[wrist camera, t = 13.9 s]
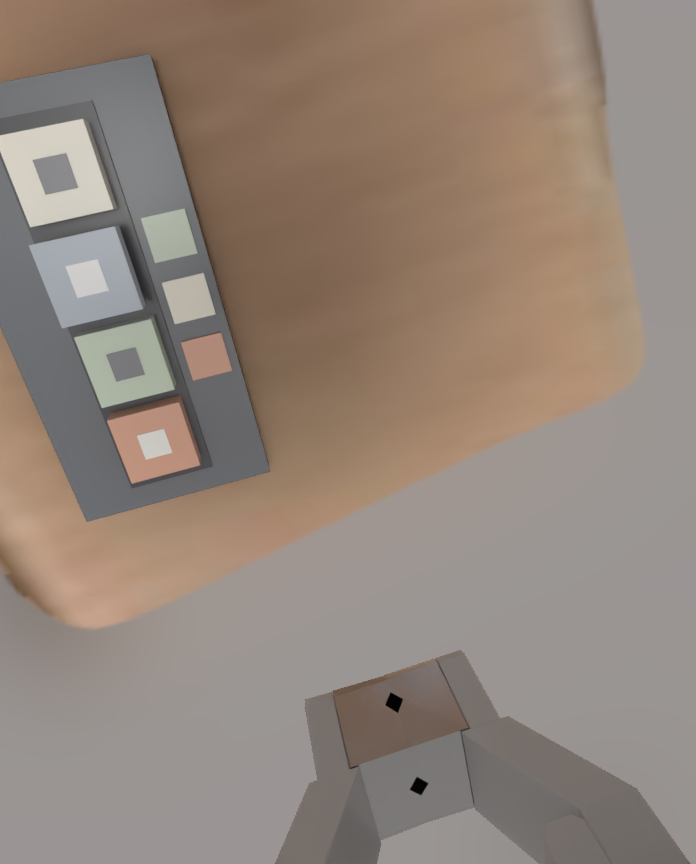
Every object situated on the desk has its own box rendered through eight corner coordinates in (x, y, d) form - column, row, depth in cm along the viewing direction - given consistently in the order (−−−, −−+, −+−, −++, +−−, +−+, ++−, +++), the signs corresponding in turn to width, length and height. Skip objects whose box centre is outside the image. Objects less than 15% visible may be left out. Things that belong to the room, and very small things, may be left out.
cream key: (3, 139, 30) (-7, 136, 28) (88, 122, 30) (82, 118, 29) (37, 226, 31) (29, 227, 30) (117, 208, 32) (113, 209, 30)
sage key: (79, 332, 34) (73, 337, 32) (153, 314, 34) (150, 319, 33) (105, 400, 35) (101, 408, 34) (176, 382, 36) (174, 390, 34)
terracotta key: (110, 412, 36) (106, 421, 34) (180, 395, 36) (178, 402, 35) (134, 474, 37) (131, 484, 36) (200, 456, 38) (200, 465, 36)
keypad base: (-88, 105, 30) (-103, 100, 28) (152, 59, 31) (149, 52, 30) (90, 512, 39) (85, 524, 38) (268, 464, 40) (270, 473, 39)
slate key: (36, 243, 30) (27, 245, 29) (118, 225, 31) (114, 226, 29) (68, 323, 32) (61, 328, 31) (145, 305, 33) (142, 309, 31)
